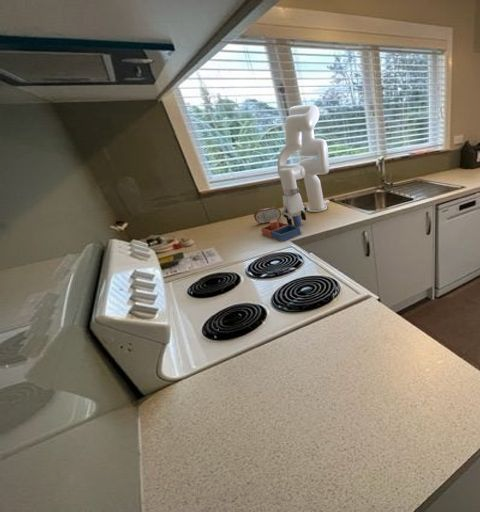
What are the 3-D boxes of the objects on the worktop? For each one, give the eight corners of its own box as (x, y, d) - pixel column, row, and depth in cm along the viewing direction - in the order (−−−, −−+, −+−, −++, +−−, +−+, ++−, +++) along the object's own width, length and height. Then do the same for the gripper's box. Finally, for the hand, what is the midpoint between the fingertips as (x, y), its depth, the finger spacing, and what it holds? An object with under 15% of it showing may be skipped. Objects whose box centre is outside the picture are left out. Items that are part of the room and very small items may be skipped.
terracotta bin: (280, 227, 165) (279, 221, 163) (290, 230, 160) (289, 224, 158) (262, 234, 157) (260, 228, 156) (272, 237, 152) (270, 231, 150)
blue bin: (290, 230, 159) (289, 224, 158) (301, 233, 154) (299, 227, 153) (272, 237, 152) (270, 231, 150) (282, 241, 147) (281, 235, 145)
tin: (281, 218, 180) (278, 204, 176) (283, 219, 177) (279, 206, 174) (256, 224, 173) (252, 210, 169) (257, 225, 171) (253, 211, 167)
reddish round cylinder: (277, 229, 161) (274, 219, 158) (282, 231, 158) (279, 220, 156) (270, 232, 158) (267, 221, 155) (275, 233, 155) (272, 223, 153)
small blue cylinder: (298, 223, 169) (296, 213, 167) (303, 224, 167) (301, 214, 164) (292, 225, 166) (290, 215, 164) (297, 227, 164) (295, 216, 161)
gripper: (299, 187, 166) (305, 216, 174) (272, 195, 154) (280, 226, 162) (308, 188, 162) (313, 218, 169) (280, 196, 150) (288, 228, 157)
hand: (297, 222), depth 165 cm, fingers open, 8 cm apart
